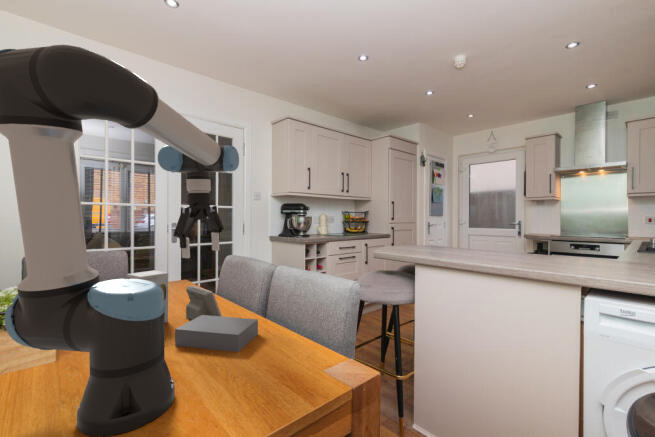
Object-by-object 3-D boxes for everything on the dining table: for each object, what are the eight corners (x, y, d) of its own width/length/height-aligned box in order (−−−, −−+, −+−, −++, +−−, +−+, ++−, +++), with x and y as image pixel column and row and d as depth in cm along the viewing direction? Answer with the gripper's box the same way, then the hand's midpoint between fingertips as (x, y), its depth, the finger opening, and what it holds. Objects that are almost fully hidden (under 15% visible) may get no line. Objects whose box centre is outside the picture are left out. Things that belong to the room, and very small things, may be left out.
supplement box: (138, 330, 93) (138, 277, 93) (125, 324, 99) (125, 273, 98) (169, 321, 101) (169, 272, 101) (155, 316, 106) (155, 269, 106)
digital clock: (223, 321, 102) (223, 290, 102) (195, 327, 96) (195, 294, 96) (208, 309, 115) (208, 281, 115) (182, 314, 109) (182, 285, 109)
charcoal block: (238, 353, 79) (238, 334, 79) (175, 347, 83) (175, 329, 83) (257, 335, 91) (257, 319, 91) (201, 330, 95) (201, 314, 94)
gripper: (216, 192, 115) (218, 247, 116) (158, 192, 91) (162, 260, 93) (232, 192, 112) (234, 248, 114) (176, 191, 89) (180, 262, 90)
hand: (201, 254), depth 103 cm, fingers open, 13 cm apart
